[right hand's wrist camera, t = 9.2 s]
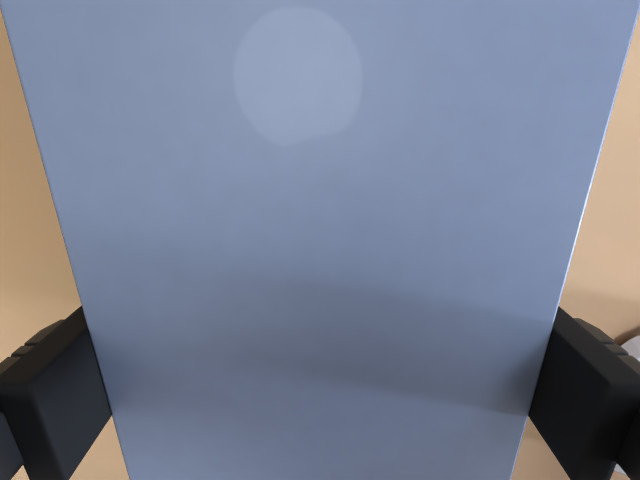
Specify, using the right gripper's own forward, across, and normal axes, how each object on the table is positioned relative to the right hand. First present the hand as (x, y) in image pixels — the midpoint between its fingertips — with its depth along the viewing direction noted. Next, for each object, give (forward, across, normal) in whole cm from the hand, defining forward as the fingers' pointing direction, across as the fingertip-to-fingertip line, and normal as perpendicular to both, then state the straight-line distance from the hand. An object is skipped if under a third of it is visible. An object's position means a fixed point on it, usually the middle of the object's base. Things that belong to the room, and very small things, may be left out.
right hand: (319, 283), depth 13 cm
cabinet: (+4, 0, -5) cm, 7 cm away
